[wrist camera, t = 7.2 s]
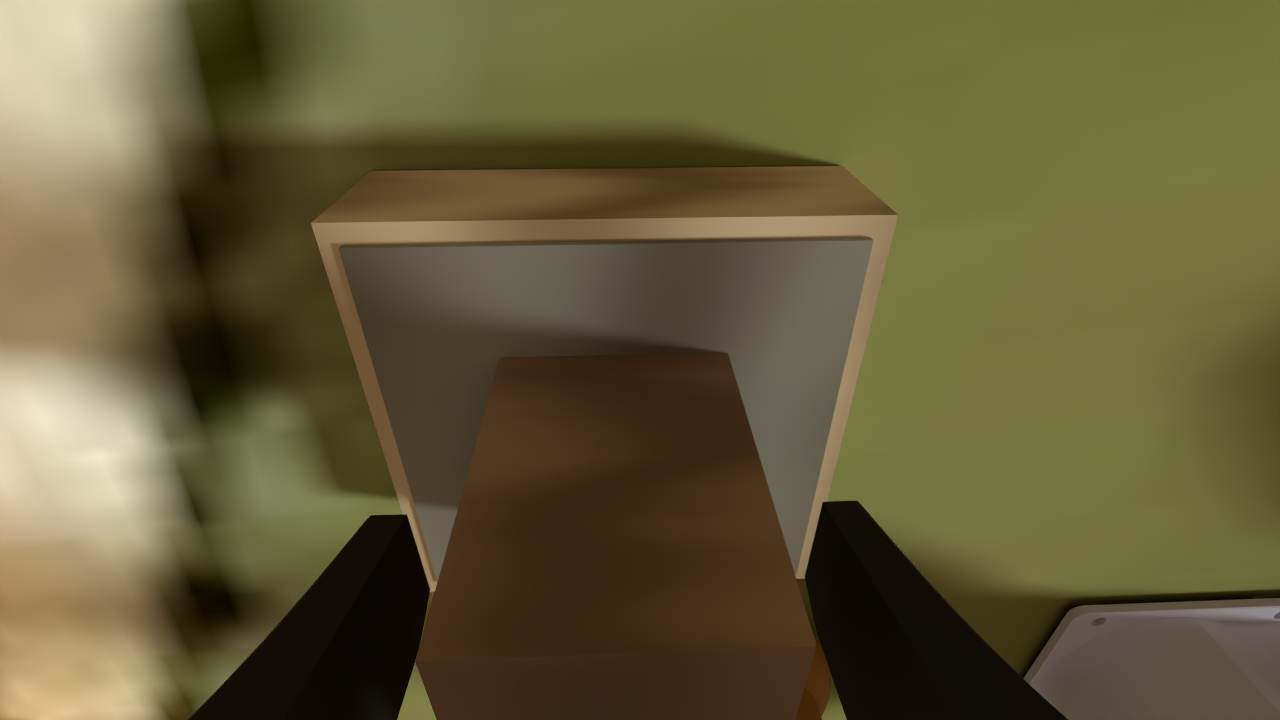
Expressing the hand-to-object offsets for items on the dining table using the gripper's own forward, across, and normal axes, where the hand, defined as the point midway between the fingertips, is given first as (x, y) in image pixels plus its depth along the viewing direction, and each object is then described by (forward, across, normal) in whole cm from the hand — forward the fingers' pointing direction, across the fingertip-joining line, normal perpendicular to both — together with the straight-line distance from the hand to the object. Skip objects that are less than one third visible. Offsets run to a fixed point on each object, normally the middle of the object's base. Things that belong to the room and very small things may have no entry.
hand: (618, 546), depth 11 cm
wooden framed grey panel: (+6, 0, 0) cm, 6 cm away
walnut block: (+3, 0, 0) cm, 3 cm away
